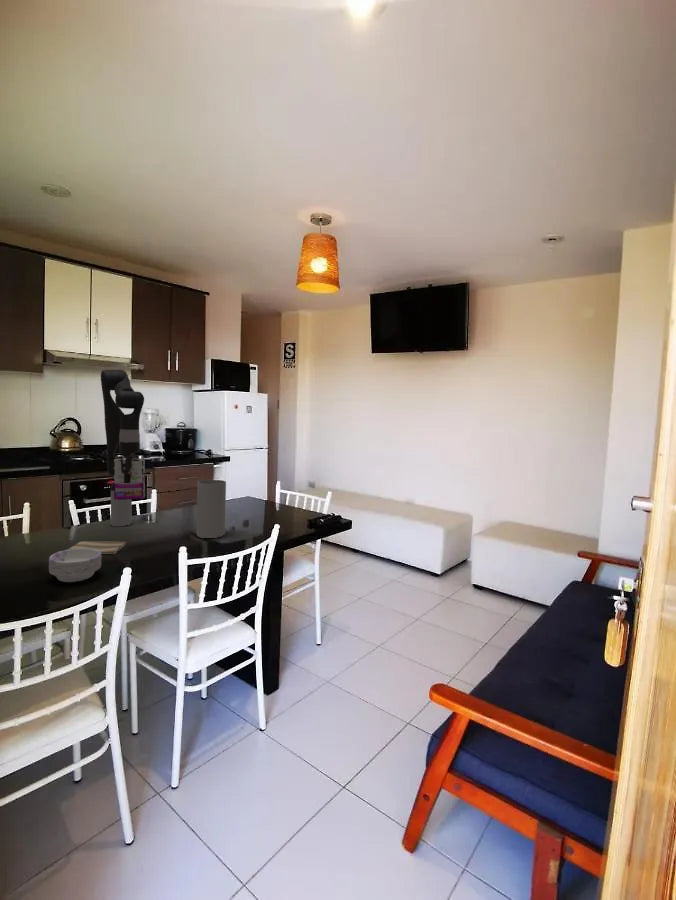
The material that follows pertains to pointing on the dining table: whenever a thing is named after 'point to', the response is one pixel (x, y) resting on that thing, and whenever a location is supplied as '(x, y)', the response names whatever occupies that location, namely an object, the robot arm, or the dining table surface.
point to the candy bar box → (136, 481)
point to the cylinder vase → (211, 508)
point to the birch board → (101, 546)
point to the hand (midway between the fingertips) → (129, 481)
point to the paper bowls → (74, 564)
